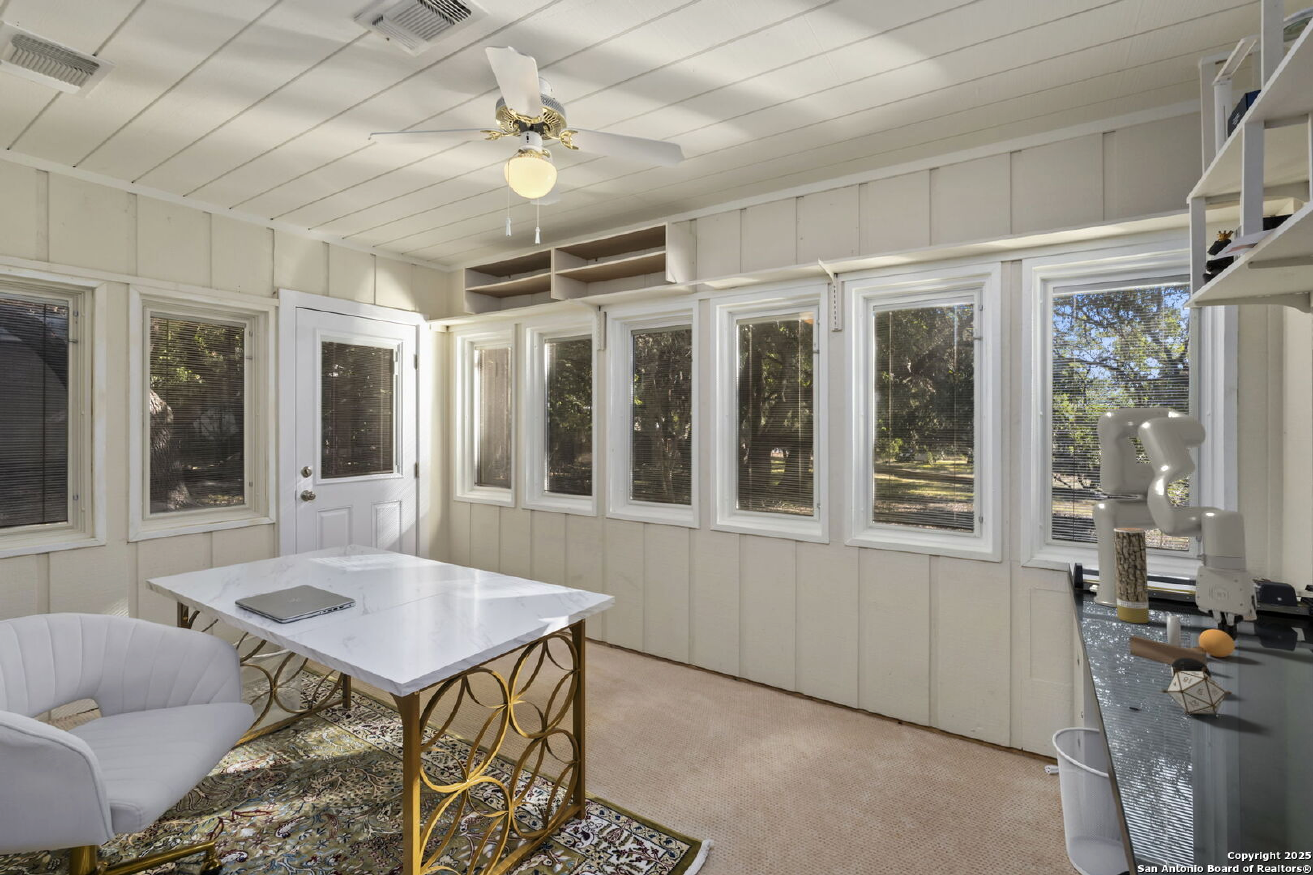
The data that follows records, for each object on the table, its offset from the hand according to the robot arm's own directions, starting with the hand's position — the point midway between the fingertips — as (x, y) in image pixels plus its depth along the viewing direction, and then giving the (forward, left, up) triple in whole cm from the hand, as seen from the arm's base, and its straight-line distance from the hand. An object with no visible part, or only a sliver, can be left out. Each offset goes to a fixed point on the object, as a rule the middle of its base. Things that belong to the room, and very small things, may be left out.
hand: (1227, 640), depth 146 cm
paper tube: (-23, 0, -2) cm, 23 cm away
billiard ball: (+17, -34, -2) cm, 38 cm away
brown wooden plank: (+4, -24, -2) cm, 24 cm away
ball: (+4, -9, +2) cm, 11 cm away
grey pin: (0, -16, -2) cm, 17 cm away
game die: (+26, -45, -2) cm, 52 cm away
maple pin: (+3, -13, 0) cm, 13 cm away
